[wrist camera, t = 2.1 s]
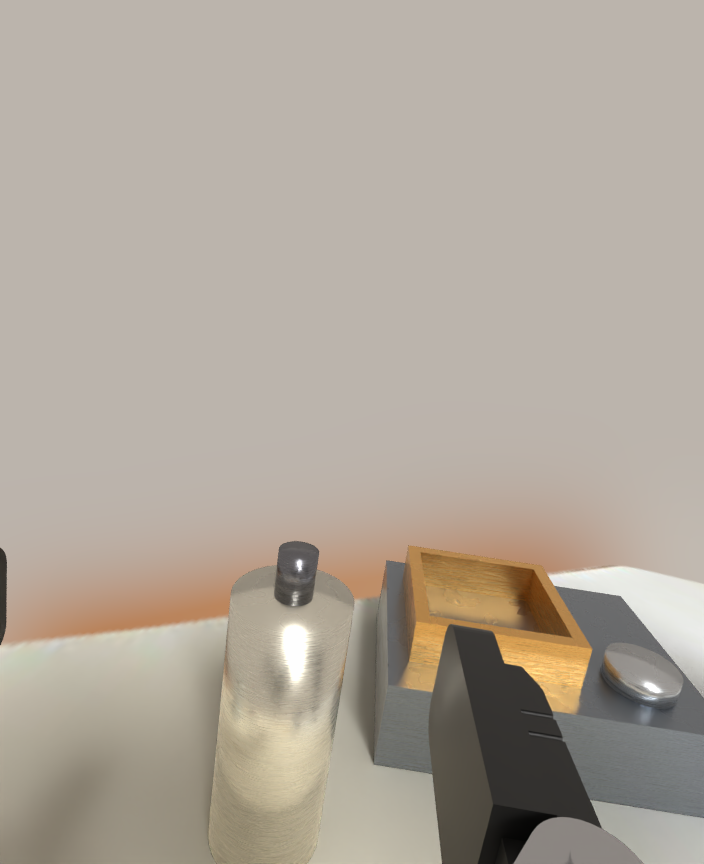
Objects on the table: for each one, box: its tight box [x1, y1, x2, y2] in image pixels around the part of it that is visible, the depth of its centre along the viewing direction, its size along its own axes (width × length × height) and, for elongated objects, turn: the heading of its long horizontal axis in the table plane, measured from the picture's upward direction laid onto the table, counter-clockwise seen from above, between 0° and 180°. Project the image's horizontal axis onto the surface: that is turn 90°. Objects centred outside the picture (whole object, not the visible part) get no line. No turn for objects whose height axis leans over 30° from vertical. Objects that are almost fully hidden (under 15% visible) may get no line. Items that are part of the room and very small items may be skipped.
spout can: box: [208, 541, 354, 864], centre depth 23 cm, size 5×5×14 cm
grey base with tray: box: [374, 546, 704, 818], centre depth 35 cm, size 18×14×8 cm
